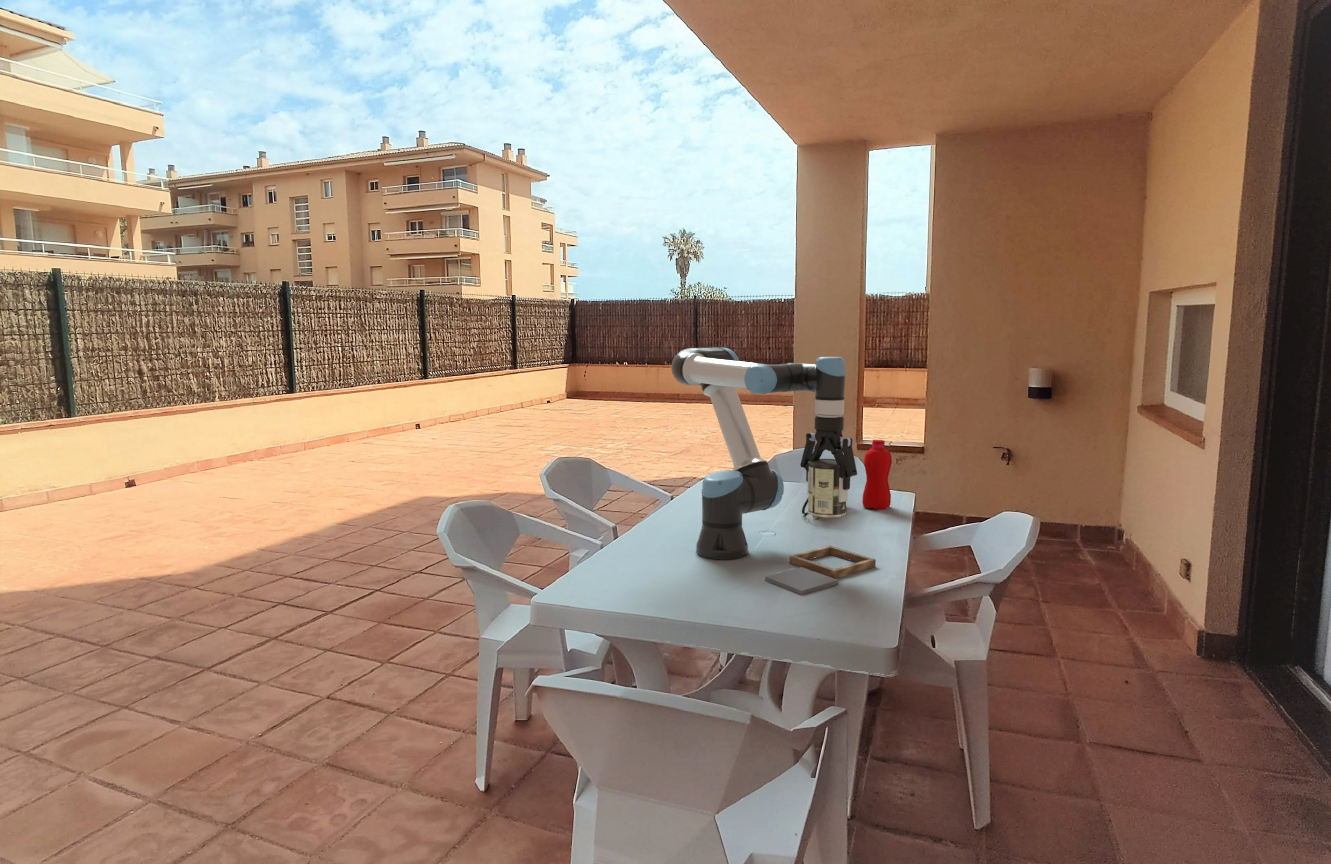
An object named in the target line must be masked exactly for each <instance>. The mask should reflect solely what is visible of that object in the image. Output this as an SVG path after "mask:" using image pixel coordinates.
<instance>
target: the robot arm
mask: <svg viewBox="0 0 1331 864" xmlns="http://www.w3.org/2000/svg"><path fill="white" fill-rule="evenodd" d="M815 360H816V361H815V363H806V362H799V361H797V362H788V363H780V364H776V363H775V364H766V363H759V362H758V363H757V362H747V361H740V359H739V357H738V355H737V354H736V352H734V351H733V350H732V349H729V348H727V347H721V346H714V347H689V348H685V349H682V350H680V351H678V353H677V354H676V355H675V356H674V357H673V359H672V362H671V369H670V370H671V373H672V375H673V378H675V380H676V382H678V383H680V384H681V385H684V386H700V387H701V390H702V393H703V395H704V396H707V397H709V398H710V402H711V404H712V408H713V410H714V413H715V416H716V418H717V421H718V424H719V427H720V430H721V433H722V436H723V439H724V441H725V444H726V447H727V450H728V453H729V455H730V456H729V457H730V459H731V461H732V465H733V468H732V470H730V469H728V470H727V469H726V470H720V471H719V470H718V471H714V472H711V473H708V474H707V475H705V476H704V478H703V480H702V483H701V484H702V487H701V496H702V497H701V509H702V510H701V518H702V519H701V529H700V532H699V536H698V540H697V542H696V544H695V545H696V546H695V547H696V548H695V552H696V554H697V555H698V556H700V557H703V558H707V559H711V560H712V559H713V560H735V559H740V558H743V557H745V556H746V555H748V554H749V544H748V542H747V539H746V538H747V537H746V535H745V531H744V529H743V515H744V514H748V513H753V512H754V513H755V512H759V511H766V510H769V509H772V508H775V507H776V506H777V505H779V504H780V502H781V501H782V499H783V495H784V492H785V486H784V485H785V484H784V480H783V478H782V475H781V474H780V473H779V472H777V470H775V469H771V468H770V465H769V462H768V460H766V459H764V458H762V457H761V454H760V452H759V449H758V447H757V443H756V440H755V438H754V435H753V433H752V430H751V427H750V425H749V424H750V423H749V422H748V419H747V416H746V413H745V411H744V408H743V404H742V402H741V400H740V396H739V393H738V390H737V389H739V390H747V391H749V393H752V394H755V395H757V394H759V395H766V394H773V393H789V392H813V393H814V397H815V398H814V400H815V402H814V414H815V415H816V416H815V417H814V430H815V432H809V433H806V435H805V446H804V449H803V453H802V457H801V462H800V467H801V468H804V469H805V471H806V472H805V475H806V476H805V478H806V479H805V480H806V483H807V490H808V489H809V464H808V461H810V460H813V461H816V460H819V459H821V457H822V455H823V453H824V452H825V451H829V452H830V453H831V455H833V457H834V458H833V459H835V460H836V463H837V465H840V468H839V470H840V473H841V475H842V476H841V477H839V502H845V501H846V502H847V501H848V498H849V497H848V494H849V493H848V491H849V490H850V488H851V477H854V476H857V475H858V471H857V465H856V460H855V455H854V451H853V438H852V437H844V436H843V430H844V429H845V428H844V426H845V424H844V423H845V419H844V416H843V415H844V414H845V385H846V375H847V373H846V361H845V359H844V358H843V357H842V356H819V357H817V358H816V359H815ZM807 495H808V493H807Z"/></svg>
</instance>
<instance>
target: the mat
mask: <svg viewBox="0 0 1331 864" xmlns="http://www.w3.org/2000/svg"><path fill="white" fill-rule="evenodd" d="M764 578H765V581H766V582H769V583H772V584H774V585H777V586H778V587H782V588H784V589H786V590H789V591H792V592H794V593H796V594H799V595H807V594H808V593H812V592H815V591H819V590H822V589H826V588H829V587H832V586H835V585H838V584H839V580H838V579H837V578H835V579H834V578H831V577H828V576H826V575H823V574H820V573H817V572H814V571H811V570H809V569H806V568H803V567H800V566H798V567H797V568H796V567H795V568H792V569H789V570H784V571H781V572H778V573H777V572H776V573H773V574H769V575H766V576H764Z"/></svg>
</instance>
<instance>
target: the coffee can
mask: <svg viewBox="0 0 1331 864" xmlns="http://www.w3.org/2000/svg"><path fill="white" fill-rule="evenodd" d="M808 464H809V489H808V488H807V494H808V497H807V498H808V503H807V507H808V508H807V512H808V513H807V514H809V515H811V516H812V515H813V516H817V517H818V518H826V519H827V518H828V519H829V518H830V519H831V518H832V519H835V518H842V517H845V516H846V515H847V501H845V502H839V477H841V476H842V475H841V473H840V470H839V468H840V465H837V463H836V460H835V458H820V459H819V460H816V461H813V460H810V461H808ZM813 516H812V517H813Z"/></svg>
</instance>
